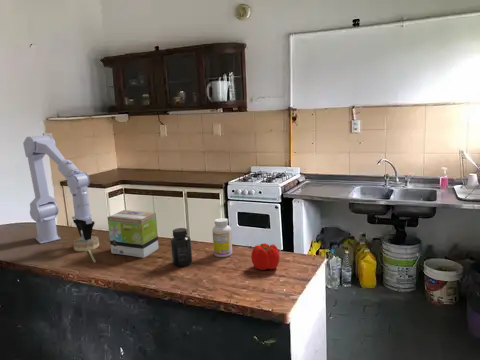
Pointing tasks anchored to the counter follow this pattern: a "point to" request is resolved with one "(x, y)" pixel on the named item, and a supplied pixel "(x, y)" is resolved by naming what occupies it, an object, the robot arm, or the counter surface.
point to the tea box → (133, 233)
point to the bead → (86, 244)
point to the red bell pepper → (265, 256)
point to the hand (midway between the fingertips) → (85, 237)
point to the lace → (91, 256)
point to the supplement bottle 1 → (181, 248)
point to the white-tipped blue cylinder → (83, 237)
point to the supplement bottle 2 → (222, 238)
